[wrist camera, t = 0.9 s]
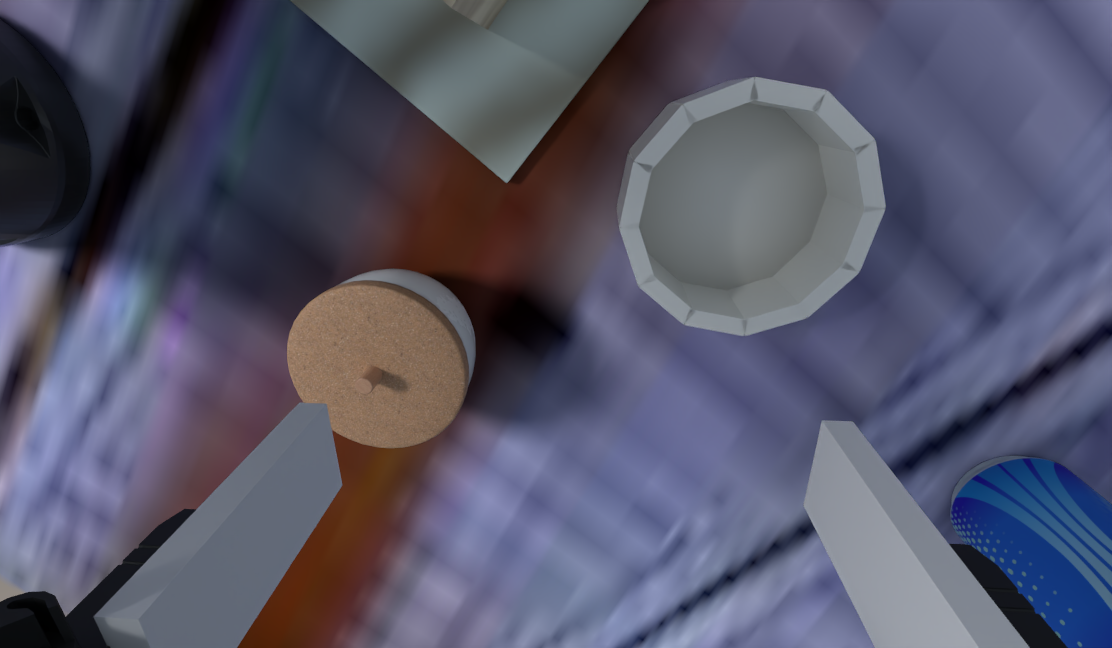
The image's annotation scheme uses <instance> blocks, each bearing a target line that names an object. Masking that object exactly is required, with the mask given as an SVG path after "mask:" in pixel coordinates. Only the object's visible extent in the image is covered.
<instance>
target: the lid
mask: <svg viewBox="0 0 1112 648" xmlns="http://www.w3.org/2000/svg"><path fill="white" fill-rule="evenodd" d="M290 1H291V2H292V3H294V4H295V5H296V6H297V7H298V8H299V9H301V10H302V11H303V12H304V13H305V14H307V15H308V16H309V17H310V18H311V19H313V20H314V21H315V22H316V23H317V24H318V25H320V26H321V27H322V28H323V29H324V30H326V31H327V32H328V33H329V34H330V35H331V36H333V37H334V38H335V39H336V40H337V41H339V42H340V43H341V44H342V45H343V46H345V47H346V48H347V49H348V50H349V51H350V52H352V53H353V54H354V55H355V56H356V57H358V58H359V59H360V60H361V61H362V62H364V63H365V64H366V65H367V66H368V67H369V68H371V69H372V70H373V71H374V72H375V73H377V74H378V75H379V76H380V77H381V78H382V79H384V80H385V81H386V82H387V83H388V84H390V85H391V86H392V87H393V88H394V89H396V90H397V91H398V92H399V93H400V94H401V95H403V96H404V97H405V98H406V99H407V100H409V101H410V102H411V103H412V104H413V105H414V106H416V107H417V108H418V109H419V110H420V111H422V112H423V113H424V114H425V115H426V116H428V117H429V118H430V119H431V120H432V121H433V122H435V123H436V124H437V125H438V126H439V127H441V128H442V129H443V130H444V131H445V132H447V133H448V134H449V135H450V136H451V137H452V138H454V139H455V140H456V141H457V142H458V143H460V144H461V145H462V146H463V147H464V148H465V149H467V150H468V151H469V152H470V153H471V154H473V155H474V156H475V157H476V158H477V159H479V160H480V161H481V162H482V163H483V164H484V165H486V166H487V167H488V168H489V169H490V170H492V171H493V172H494V173H495V174H496V175H497V176H499V177H500V178H501V179H502V180H503V181H505V182H506V183H508V182H509V180H510V179H511V178H512V177H513V175H514V174H515V173H516V171H517V170H518V169H519V168H520V166H521V165H522V164H523V162H524V161H525V160H526V159H527V157H528V156H529V155H530V153H531V152H532V151H533V149H534V148H535V147H536V146H537V144H538V143H539V142H540V140H541V139H542V138H543V137H544V135H545V134H546V133H547V131H548V130H549V129H550V128H551V126H552V125H553V124H554V122H555V121H556V120H557V119H558V117H559V116H560V115H561V113H562V112H563V111H564V110H565V108H566V107H567V106H568V104H569V103H570V102H571V101H572V99H573V98H574V97H575V95H576V94H577V93H578V92H579V90H580V89H581V88H582V86H583V85H584V84H585V82H586V81H587V80H588V79H589V77H590V76H591V75H592V73H593V72H594V71H595V70H596V68H597V67H598V66H599V64H600V63H601V62H602V61H603V59H604V58H605V57H606V55H607V54H608V53H609V52H610V50H611V49H612V48H613V46H614V45H615V44H616V43H617V41H618V40H619V39H620V37H621V36H622V35H623V34H624V32H625V31H626V30H627V28H628V27H629V26H630V25H631V23H632V22H633V21H634V19H635V18H636V17H637V16H638V14H639V13H640V12H641V10H642V9H643V8H644V6H645V5H646V4H647V3H648V1H649V0H290Z"/></svg>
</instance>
